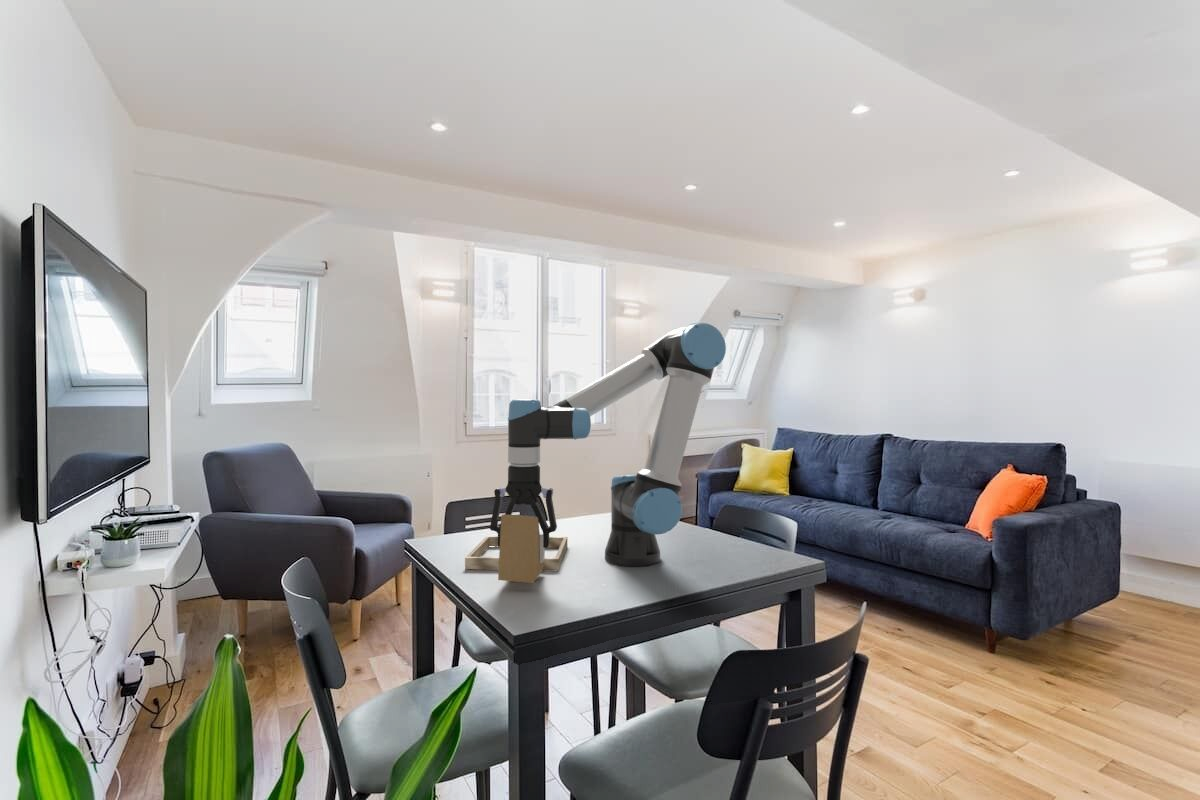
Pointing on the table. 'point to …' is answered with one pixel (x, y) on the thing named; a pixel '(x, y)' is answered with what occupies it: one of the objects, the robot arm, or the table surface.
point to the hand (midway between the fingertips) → (523, 560)
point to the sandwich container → (519, 549)
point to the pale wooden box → (492, 563)
